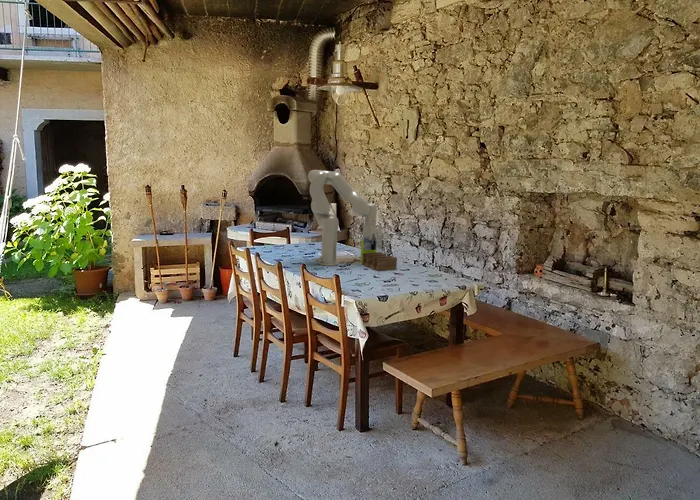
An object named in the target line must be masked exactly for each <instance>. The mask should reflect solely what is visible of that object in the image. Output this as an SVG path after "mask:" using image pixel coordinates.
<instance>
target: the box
mask: <svg viewBox="0 0 700 500" xmlns="http://www.w3.org/2000/svg"><path fill="white" fill-rule="evenodd" d="M367 238H368V237H364V239H363V238H361V239H360V263H362V257H363V253H375V252H378V251H377V246H378V241H377V242H376V249H375V250H371V244H372V242H371V240H370V241H369V240H367Z"/></svg>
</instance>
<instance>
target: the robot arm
mask: <svg viewBox="0 0 700 500" xmlns="http://www.w3.org/2000/svg"><path fill="white" fill-rule="evenodd" d="M307 179H308V180H309V183H310V184H309V195H310V198H311V199H312V200H311V203H310V208H311V211H312V213H313V215H314V219H315V220H316V222H317V225H319V226H320V227H321V228H322V232H321V233H322V235H321V255H320V256H319V257H318V258H317V257H315V258H314V259H313V261H314V262H318V264H319V265H321V266H328V267H331V266H333V267H334V266H337V265H339V261H337V250H338V249H337V248H338V247H337V246H338V245H337V244H338V230H339V225H340V223H339V219H338V217H337V216H336V215H334V214H331V213H330V211H331V204H330V203H329V202H330V201H329V200H328V198H327V195H326V194H325V191H324V185H330V186H332V187H333V188H334V189H335V190H336V192H337V193H338V194H339V195H340V197H341V198H342V199H343V200H345V202H348V203H350V204H351V205H352V208H351V210H352V212H353V213H354V214H355V215H357V216H361V217H364V222H363V223H364V224H363V228H362V233H361V236H362V238H361V239H364V237H368V238H367V240H369V241H370V240H371V242H372V244H371V250H375V249H376V242H377V243H378V239H379V238H378V236H377V211H378V210H377V208H378V207H377V204H376V203H372V202H370V203H369V202H368V203H367V202H366V200H365V199H363V197H361V195H360V194H358V192H357V191H356V190H355V189H353V187H352V186H351V185H350V184H349V182H348V181H347V180H346V178H345V177H344V176H343V175H342V174H341V173H340V172H338V171H332V170H331V171H330V170H320V169H312V170H310V171H308V174H307Z"/></svg>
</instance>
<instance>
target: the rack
mask: <svg viewBox="0 0 700 500" xmlns="http://www.w3.org/2000/svg"><path fill="white" fill-rule="evenodd" d="M397 264H398V257H397V256H393V255H387V253H383V252H382V251H376V252H375V253H363V257H362V262H361V265H362V266H364V267H366V268H368V269H372V270H374V271H376V272H383V271H393V270H397V267H398V266H397Z"/></svg>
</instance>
